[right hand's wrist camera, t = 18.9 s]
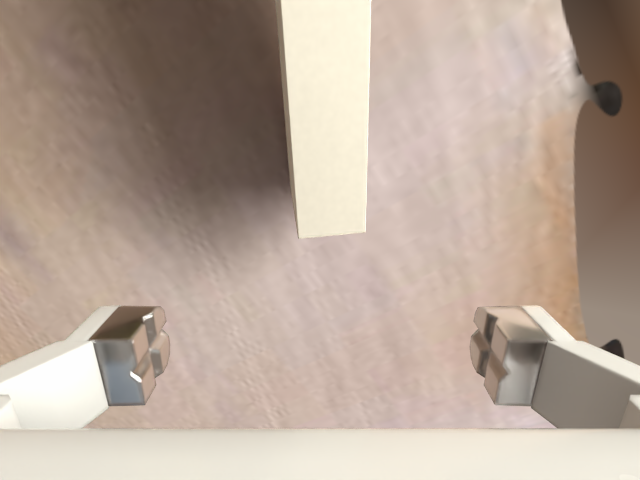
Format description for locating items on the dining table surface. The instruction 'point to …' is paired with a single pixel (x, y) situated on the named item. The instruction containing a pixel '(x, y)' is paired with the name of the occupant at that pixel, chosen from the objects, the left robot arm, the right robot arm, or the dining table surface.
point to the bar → (326, 111)
